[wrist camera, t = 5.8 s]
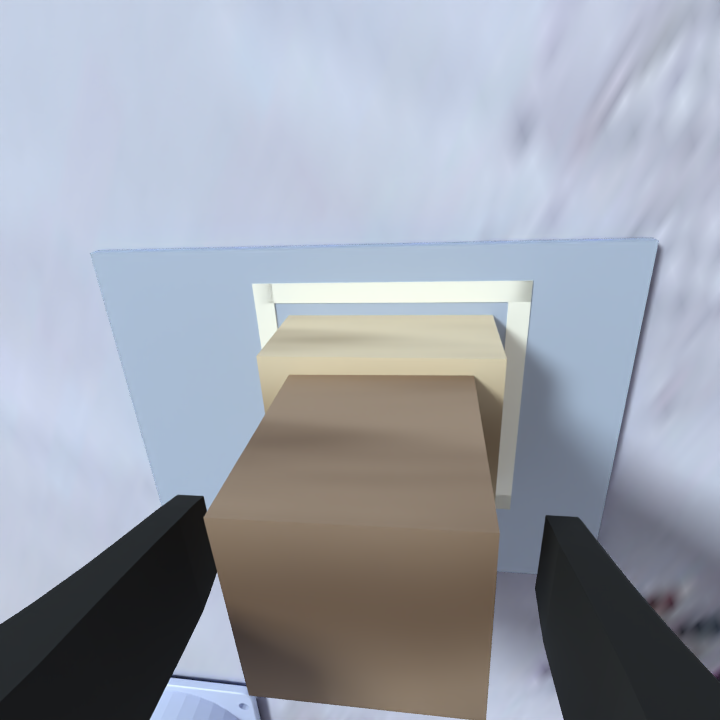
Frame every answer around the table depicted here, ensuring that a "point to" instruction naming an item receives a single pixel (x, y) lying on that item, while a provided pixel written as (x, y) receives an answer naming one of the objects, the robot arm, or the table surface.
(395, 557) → the walnut block
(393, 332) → the oak slab
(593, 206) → the table surface
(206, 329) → the board
